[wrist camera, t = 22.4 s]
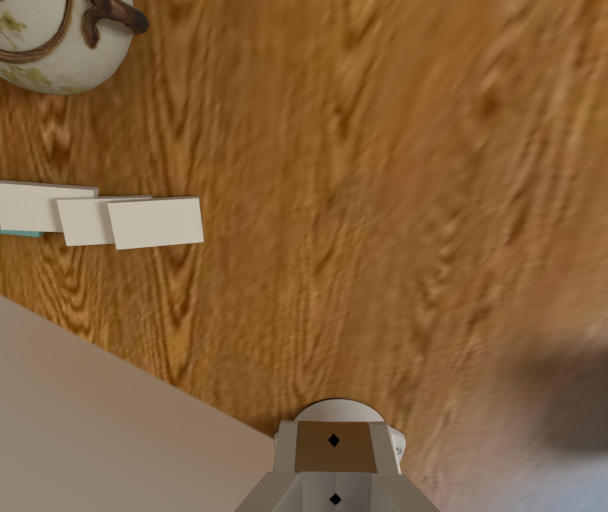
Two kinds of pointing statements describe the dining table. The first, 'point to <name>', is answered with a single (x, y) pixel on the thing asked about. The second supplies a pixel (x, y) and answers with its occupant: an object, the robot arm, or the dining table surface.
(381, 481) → the robot arm
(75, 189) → the domino
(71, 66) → the sugar bowl
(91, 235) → the domino
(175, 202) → the domino
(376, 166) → the dining table surface
